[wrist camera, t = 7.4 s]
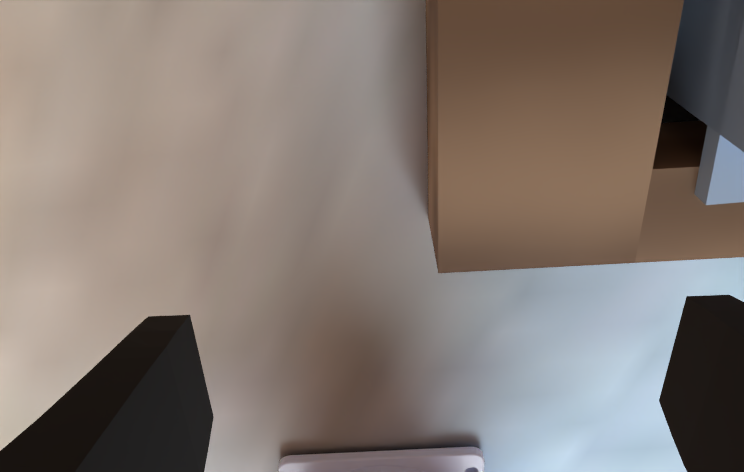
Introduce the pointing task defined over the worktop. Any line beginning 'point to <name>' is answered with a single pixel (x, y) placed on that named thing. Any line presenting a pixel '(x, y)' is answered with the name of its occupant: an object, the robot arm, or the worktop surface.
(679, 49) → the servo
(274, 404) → the worktop surface
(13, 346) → the worktop surface
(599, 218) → the board
